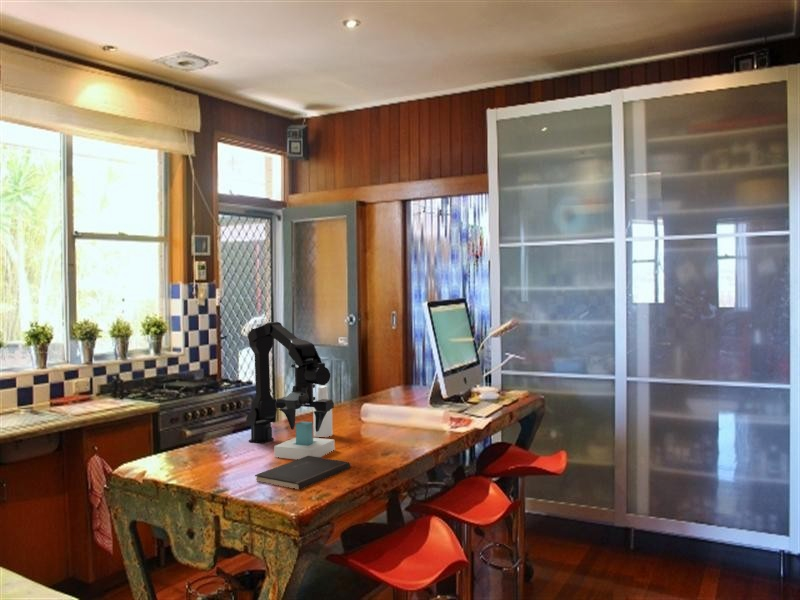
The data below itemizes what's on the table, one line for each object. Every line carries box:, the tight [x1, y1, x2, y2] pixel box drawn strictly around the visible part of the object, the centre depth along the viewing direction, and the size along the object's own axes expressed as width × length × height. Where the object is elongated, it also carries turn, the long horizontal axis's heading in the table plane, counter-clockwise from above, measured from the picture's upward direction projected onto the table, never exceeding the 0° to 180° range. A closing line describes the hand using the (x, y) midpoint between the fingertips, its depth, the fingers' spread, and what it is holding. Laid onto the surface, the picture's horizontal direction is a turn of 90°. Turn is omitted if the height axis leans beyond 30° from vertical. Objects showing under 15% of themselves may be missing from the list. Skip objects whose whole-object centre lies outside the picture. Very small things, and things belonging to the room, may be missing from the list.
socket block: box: [273, 436, 336, 460], centre depth 204 cm, size 14×14×4 cm
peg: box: [295, 420, 314, 446], centre depth 204 cm, size 4×4×10 cm
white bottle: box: [312, 385, 334, 438], centre depth 229 cm, size 7×7×18 cm
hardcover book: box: [254, 456, 351, 490], centre depth 182 cm, size 16×23×2 cm
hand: (304, 430), depth 204 cm, fingers open, 9 cm apart
